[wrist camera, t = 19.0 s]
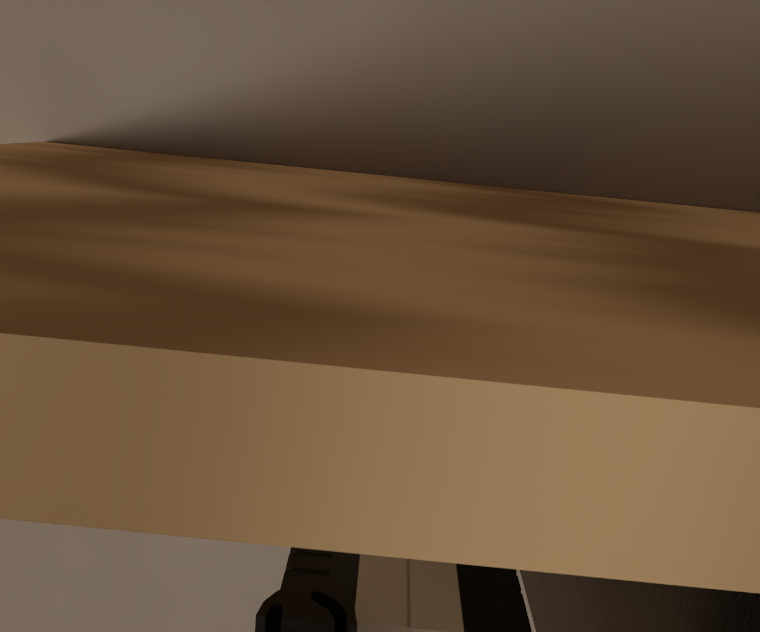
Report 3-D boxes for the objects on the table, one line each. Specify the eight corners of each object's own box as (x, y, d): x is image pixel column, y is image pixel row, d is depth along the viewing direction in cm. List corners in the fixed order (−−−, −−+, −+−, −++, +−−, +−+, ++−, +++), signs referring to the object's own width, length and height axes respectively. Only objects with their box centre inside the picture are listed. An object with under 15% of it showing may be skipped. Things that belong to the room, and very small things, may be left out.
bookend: (369, 542, 18) (334, 1034, 8) (398, 269, 15) (397, 517, 6) (551, 560, 18) (727, 1073, 8) (608, 290, 15) (954, 572, 6)
